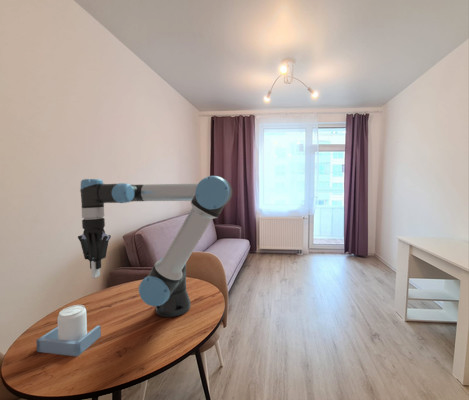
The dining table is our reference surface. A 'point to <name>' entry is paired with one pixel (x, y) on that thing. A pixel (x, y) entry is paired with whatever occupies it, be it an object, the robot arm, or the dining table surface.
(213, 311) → the dining table surface
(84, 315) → the beverage can
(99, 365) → the dining table surface
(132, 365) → the dining table surface
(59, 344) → the corral
